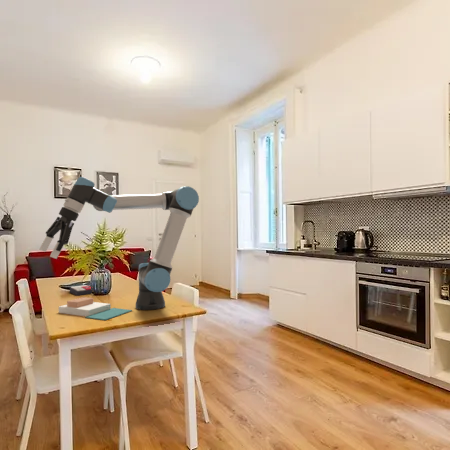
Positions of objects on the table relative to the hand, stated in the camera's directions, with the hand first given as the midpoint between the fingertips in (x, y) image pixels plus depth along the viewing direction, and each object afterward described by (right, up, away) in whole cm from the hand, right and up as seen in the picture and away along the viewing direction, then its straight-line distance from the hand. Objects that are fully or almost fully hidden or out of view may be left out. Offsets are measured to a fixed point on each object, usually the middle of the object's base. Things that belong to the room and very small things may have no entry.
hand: (47, 254), depth 141 cm
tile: (+4, -28, +24) cm, 37 cm away
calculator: (-16, -32, +71) cm, 79 cm away
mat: (+21, -30, +16) cm, 40 cm away
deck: (+6, -31, +23) cm, 39 cm away
